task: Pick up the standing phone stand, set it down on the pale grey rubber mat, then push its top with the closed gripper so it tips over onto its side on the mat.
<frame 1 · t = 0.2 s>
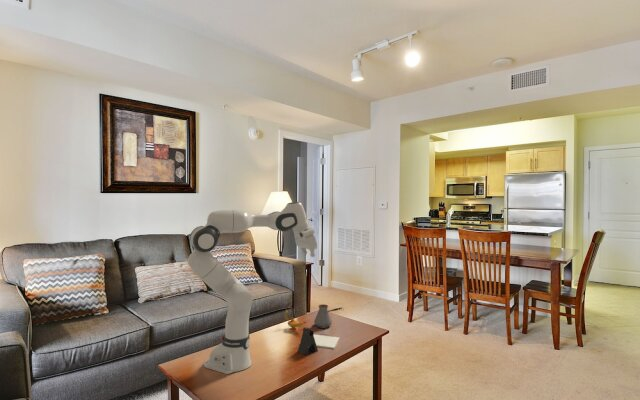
hand: (309, 255, 179), 51 cm above the table, tool tilted 20°, fingers open, 8 cm apart
phone stand: (307, 351, 179), on the table
magic lamp: (295, 330, 208), on the table
coffee pot: (328, 328, 213), on the table
mat: (320, 341, 191), on the table
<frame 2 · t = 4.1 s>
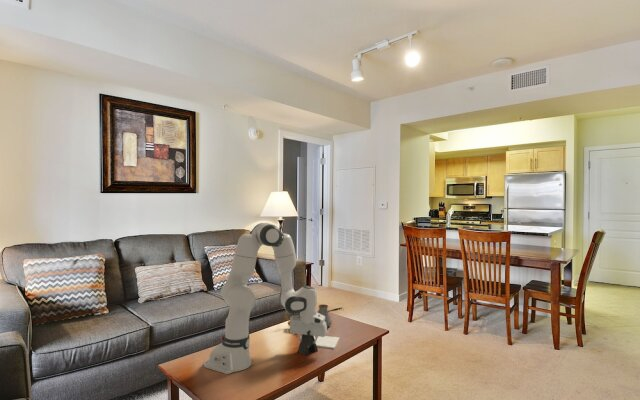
hand: (308, 342, 179), 5 cm above the table, tool pointing down, fingers closed on phone stand, 6 cm apart
phone stand: (307, 351, 179), on the table, touching gripper
everything else where it was.
when the fingers open (7 cm above the table, at t = 10.5 s): phone stand drops 1 cm, resting on mat.
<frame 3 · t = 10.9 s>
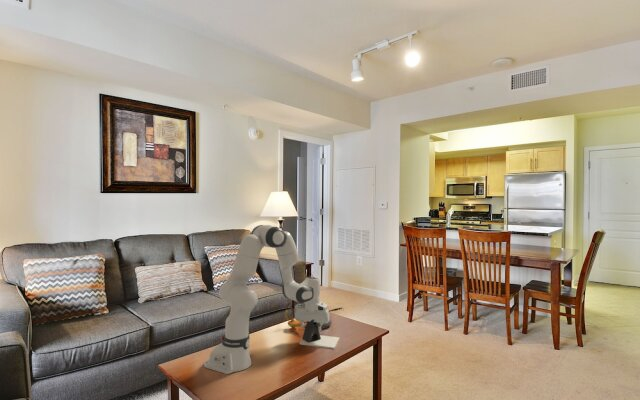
hand: (311, 329, 193), 7 cm above the table, tool pointing down, fingers open, 8 cm apart
phone stand: (311, 339, 193), point 1 cm above the table, touching mat
everything else where it was.
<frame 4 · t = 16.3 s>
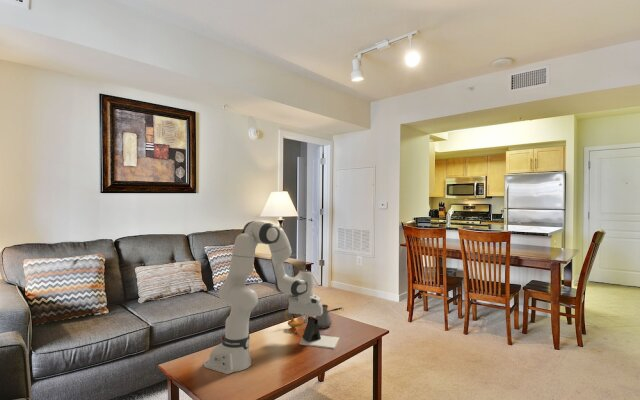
hand: (305, 321, 194), 10 cm above the table, tool pointing down, fingers closed
phone stand: (311, 338, 193), point 1 cm above the table, touching gripper, mat
everything else where it was.
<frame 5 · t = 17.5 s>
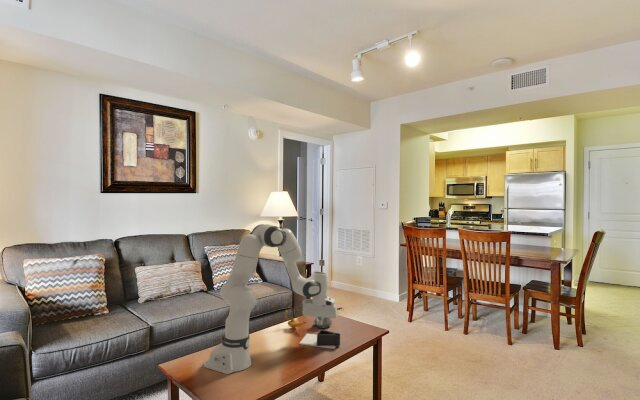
hand: (319, 324, 192), 10 cm above the table, tool pointing down, fingers closed
phone stand: (318, 337, 188), point 4 cm above the table, touching mat
everything else where it was.
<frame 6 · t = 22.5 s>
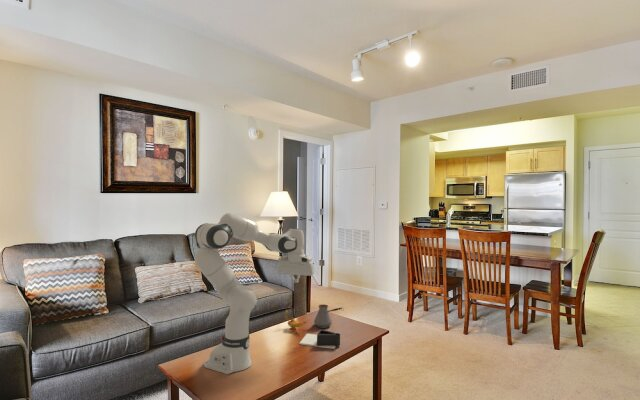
hand: (295, 282, 185), 35 cm above the table, tool pointing down, fingers closed
nothing on the table moved.
at the end: phone stand tilted 90°; phone stand inside the target area on the mat (3.3 cm from its centre), point 3.8 cm above the mat's base; the gripper is holding nothing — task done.
